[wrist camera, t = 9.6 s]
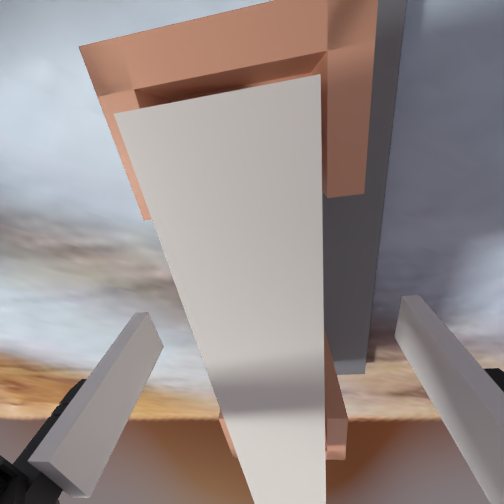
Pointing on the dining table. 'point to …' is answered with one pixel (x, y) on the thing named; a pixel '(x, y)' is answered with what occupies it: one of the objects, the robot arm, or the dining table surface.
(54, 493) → the robot arm
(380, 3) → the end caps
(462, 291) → the dining table surface
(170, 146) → the slat
